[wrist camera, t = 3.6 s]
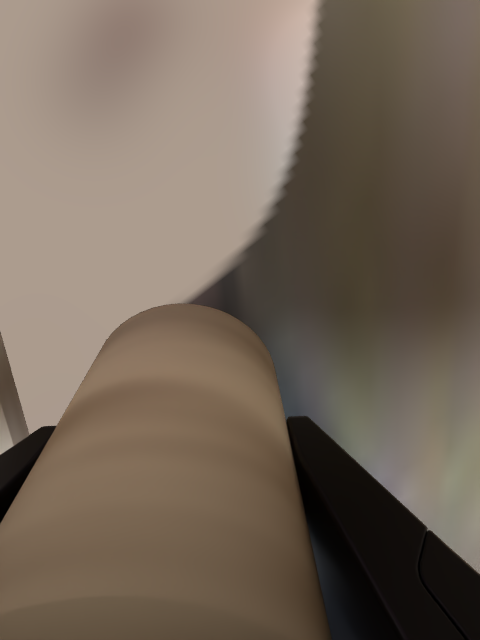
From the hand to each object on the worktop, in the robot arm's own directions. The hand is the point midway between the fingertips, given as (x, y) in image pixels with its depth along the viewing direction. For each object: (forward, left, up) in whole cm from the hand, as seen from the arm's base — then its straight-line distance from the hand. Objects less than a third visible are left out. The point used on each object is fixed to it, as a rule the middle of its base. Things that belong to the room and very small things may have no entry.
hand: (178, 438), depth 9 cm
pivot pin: (0, 0, -2) cm, 2 cm away
